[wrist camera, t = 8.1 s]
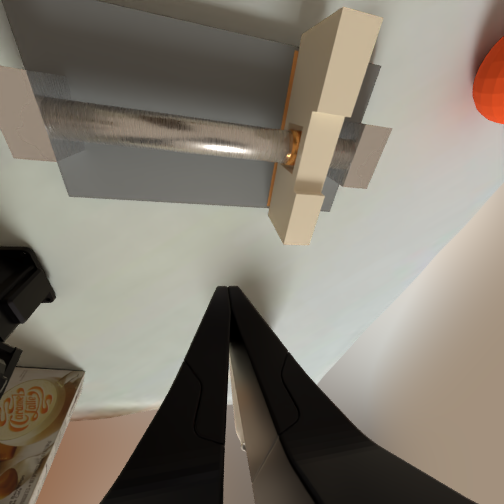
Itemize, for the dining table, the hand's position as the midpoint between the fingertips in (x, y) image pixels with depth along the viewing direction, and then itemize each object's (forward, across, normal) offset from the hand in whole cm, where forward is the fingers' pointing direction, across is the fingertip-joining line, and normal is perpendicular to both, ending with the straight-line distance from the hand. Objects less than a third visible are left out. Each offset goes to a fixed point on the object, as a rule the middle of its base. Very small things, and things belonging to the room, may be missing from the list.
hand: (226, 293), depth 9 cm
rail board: (+13, 0, -4) cm, 14 cm away
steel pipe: (+13, 0, -4) cm, 14 cm away
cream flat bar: (+11, -6, -4) cm, 14 cm away
